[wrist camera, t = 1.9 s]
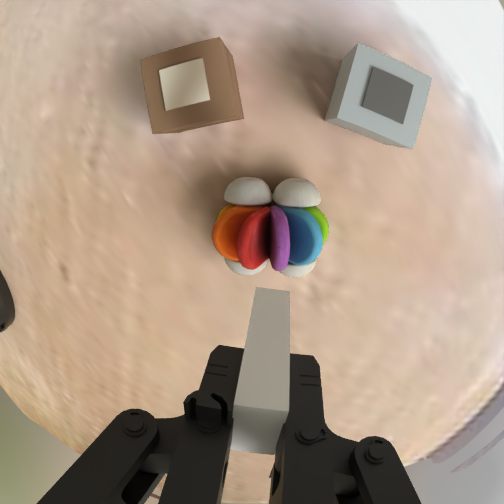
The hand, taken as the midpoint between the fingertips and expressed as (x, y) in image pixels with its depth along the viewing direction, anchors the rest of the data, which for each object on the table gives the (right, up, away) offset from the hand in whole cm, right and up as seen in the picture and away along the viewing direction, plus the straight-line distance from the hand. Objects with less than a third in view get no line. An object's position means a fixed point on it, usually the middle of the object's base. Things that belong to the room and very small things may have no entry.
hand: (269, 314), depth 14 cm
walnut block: (-5, +17, +10) cm, 20 cm away
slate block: (+9, +16, +9) cm, 20 cm away
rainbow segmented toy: (+1, +6, +14) cm, 15 cm away
